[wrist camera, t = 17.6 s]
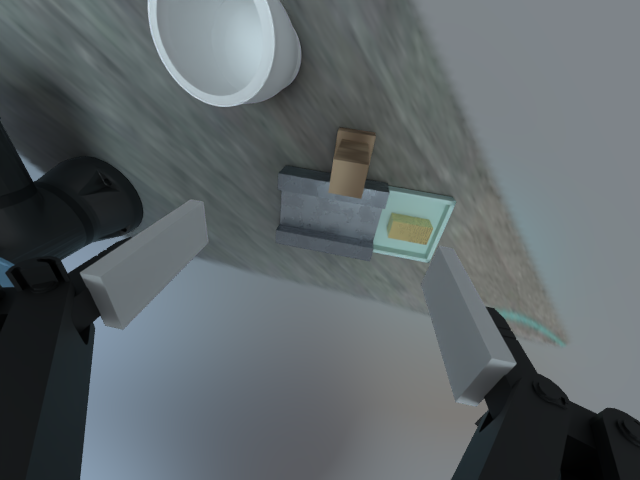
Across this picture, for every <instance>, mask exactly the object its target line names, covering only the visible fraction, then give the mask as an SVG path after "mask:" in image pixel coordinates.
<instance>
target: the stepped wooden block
mask: <svg viewBox="0 0 640 480" xmlns="http://www.w3.org/2000/svg"><path fill="white" fill-rule="evenodd" d="M375 137H376V135H375V133H374V132H368V131H361V130H355V129H349V128H343V127H340V128H339V129H338V134H337V140H336V147H335V153H334V159H333V165H332V172H331V178H330V185H329V191H328V193H332V194H337V195H343V196H349V197H354V198H360V199H361V198H362V194H363V190H364V185H365V181H366V177H367V172H368V168H369V163H370V159H371V155H372V150H373V146H374V142H375Z"/></svg>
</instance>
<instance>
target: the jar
mask: <svg viewBox="0 0 640 480" xmlns="http://www.w3.org/2000/svg"><path fill="white" fill-rule="evenodd" d="M148 18H149V25H150V30H151V34H152V38H153V41H154V44H155V47H156V49H157V51H158V54H159V56H160V58H161V60H162V62H163V63H164V65H165V67H166V68H167V70H168V71H169V73H170V74H171V76H172V77H173V78H174V79H175V80H176V82H177V83H178V84H179V85H180V86H181V87H182V88H183V89H184V90H186V91H187V92H188V93H189V94H191V95H192V96H194V97H195V98H197V99H199V100H200V101H202V102H205V103H207V104H210V105H214V106H220V107H230V106H236V105H240V104H251V103H258V102H262V101H265V100H267V99H269V98H271V97H273V96H275V95H276V94H277V93H279V92H280V91H281V90H282V89H284V88H286V87H287V86H288V85H290V84H291V83H292V82H293V80H294V79H295V77H296V76H297V74H298V71H299V68H300V64H301V45H300V41H299V38H298V35H297V33H296V31H295V29H294V28H293V26H292V23H291V21H290V18H289V16H288V14H287V12H286V10H285V8H284V7H283V5H282V3H281V2H280V0H148Z"/></svg>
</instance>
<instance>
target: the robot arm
mask: <svg viewBox="0 0 640 480" xmlns="http://www.w3.org/2000/svg"><path fill="white" fill-rule="evenodd" d="M0 119H1V118H0ZM142 215H143V211H142V205H141V202H140V199H139V197H138V195H137V193H136V191H135V189H134V188H133V186H132V185H131V184H130V182H129V181H128V180H127V179H126V178H125V177H124V176H123V175H122V174H121V173H120V172H119V171H118V170H116V169H115V168H114V167H112V166H111V165H109V164H107V163H105V162H103V161H101V160H99V159H96V158H92V157H77V158H73V159H69V160H66V161H63V162H61V163H60V164H58V165H57V166H56V167H54V168H53V169H51V170H50V171H49V172H47V173H46V174H45V175H43V176H42V177H41V178H40V179H38V180H37V181H34V182H33V181H32V179H31V177H30V175H29V173H28V171H27V170H26V168H25V166H24V164H23V162H22V160H21V158H20V157H19V155H18V153H17V151H16V149H15V147H14V145H13V144H12V142H11V140H10V138H9V136H8V134H7V133H6V131H5V129H4V127H3V125H2V123H1V121H0V480H80V474H81V464H82V454H83V443H84V433H85V424H86V414H87V403H88V394H89V383H90V374H91V364H92V354H93V344H94V334H95V327H94V324H93V321H95V320H96V319H97V318H98V317H99V316H101V318H102V320H103V322H104V324H105V326H109V327H114V328H118V329H124V328H125V327H126V326H127V325H128V324H129V323H130V322H131V321H132V320H133V319H134V318H135V317H136V316H137V315H138V314H139V313H140V312H141V311H142V310H143V309H144V308H145V307H146V306H147V305H148V304H149V303H150V302H151V301H152V300H153V299H154V298H155V297H156V296H157V295H158V294H159V293H160V292H161V291H162V290H163V289H164V287H165V286H166V285H167V284H168V283H169V282H170V281H171V280H172V279H173V278H174V277H175V276H176V275H177V274H178V273H179V272H180V271H181V270H182V269H183V268H184V267H185V266H186V265H187V264H188V263H189V262H190V261H191V260H192V259H193V258H194V257H195V256H196V255H197V254H198V253H199V252H200V251H201V250H202V249H203V248H204V247H205V246H206V245H207V244H208V243H209V241H208V233H207V225H206V217H205V208H204V202H203V201H198V200H192V199H190V200H189V201H187V202H186V203H184V204H183V205H181V206H180V207H178V208H177V209H175V210H174V211H172V212H171V213H169V214H168V215H166V216H165V217H163V218H161V219H160V220H158V221H157V222H155V223H154V224H152V225H151V226H149V227H148V228H146V229H145V230H143V231H142V232H140V233H139V234H137V235H136V236H134V237H133V238H132V237H129V238H126V239H124V240H121V241H118V242H116V243H115V244H113V245H112V246H110V247H108V248H107V250H104V251H103V252H101V253H99V254H98V256H94V257H93V258H91V259H90V260H88V261H87V262H85V263H83V264H82V265H80V266H79V267H77V268H76V269H74V270H73V271H71V272H69V273H67V272H66V269H65V268H64V266H63V264H62V262H61V260H62V259H64V258H66V257H67V256H69V255H71V254H73V253H74V252H76V251H78V250H79V249H81V248H83V247H85V246H86V245H88V244H90V243H92V242H96V241H101V240H105V239H110V238H114V237H119V236H122V235H125V234H127V233H129V232H130V231H132V230H133V229H135V228H136V227H138V225H139V224H140V222H141V220H142ZM421 286H422V289H423V292H424V296H425V299H426V303H427V306H428V310H429V313H430V316H431V320H432V323H433V327H434V330H435V334H436V337H437V340H438V344H439V347H440V351H441V354H442V358H443V361H444V364H445V368H446V371H447V375H448V378H449V381H450V385H451V388H452V392H453V395H454V398H455V402H458V403H462V404H467V405H471V406H477V405H478V404H479V403H480V402H481V401H482V400H483V399H484V398H485V401H486V403H487V406H488V409H489V410H488V411H487V412H486V413H485V414H484V415H483V416H482V417H481V418H480V419H479V420H478V421H477V422H476V423H475V424H476V425H477V426H478V427H477V429H476V431H475V433H474V435H473V437H472V439H471V441H470V443H469V445H468V447H467V449H466V451H465V453H464V455H463V457H462V459H461V461H460V463H459V465H458V467H457V469H456V471H455V473H454V475H453V477H452V479H451V480H640V422H639V421H638V420H636V419H634V418H633V417H631V416H630V415H628V414H627V413H625V412H623V411H620V410H617V409H615V408H606V409H604V410H603V411H601V412H600V413H598V414H596V413H594V412H592V411H590V410H588V409H586V408H583V407H581V406H579V405H577V404H575V403H573V402H571V401H569V399H568V397H567V395H566V394H565V393H564V392H563V391H562V390H561V389H560V388H559V386H557V385H556V384H555V383H553V382H552V381H551V380H550V379H548V378H546V377H544V376H542V375H541V374H538V373H537V372H536V370H535V368H534V367H533V365H532V363H531V362H530V360H529V358H528V357H527V355H526V353H525V352H524V350H523V349H522V347H521V345H520V343H519V342H518V340H516V337H515V335H514V334H513V332H512V331H511V329H510V327H509V325H508V324H507V322H506V320H505V319H504V318H503V317H502V316H501V315H500V314H499V313H498V312H497V311H496V310H495V309H494V308H490V307H485V305H484V303H483V301H482V300H481V298H480V296H479V294H478V292H477V291H476V289H475V287H474V285H473V283H472V282H471V280H470V278H469V276H468V274H467V272H466V271H465V269H464V267H463V265H462V263H461V262H460V260H459V258H458V256H457V254H456V253H455V251H454V249H453V248H449V247H444V246H438V248H437V250H436V253H435V255H434V257H433V259H432V261H431V263H430V266H429V268H428V270H427V272H426V274H425V277H424V279H423V281H422V283H421Z"/></svg>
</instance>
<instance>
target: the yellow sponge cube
mask: <svg viewBox="0 0 640 480" xmlns="http://www.w3.org/2000/svg"><path fill="white" fill-rule="evenodd" d="M410 217H411V220H412V223H413V227H412V229H411V232H410V235H409V238H408V240H407V242H413V243H418V244H423V245H427V243H428V240H429V238H430V235H431V233H432V231H433V227H432V224H431V222H430V220H429V219H423V218H418V217H412V216H410Z"/></svg>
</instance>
